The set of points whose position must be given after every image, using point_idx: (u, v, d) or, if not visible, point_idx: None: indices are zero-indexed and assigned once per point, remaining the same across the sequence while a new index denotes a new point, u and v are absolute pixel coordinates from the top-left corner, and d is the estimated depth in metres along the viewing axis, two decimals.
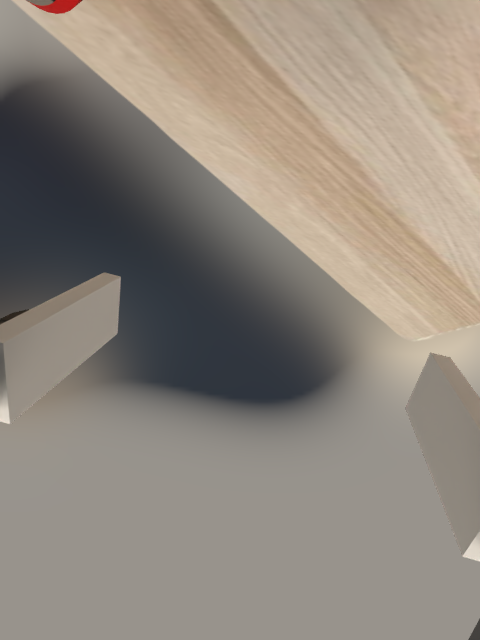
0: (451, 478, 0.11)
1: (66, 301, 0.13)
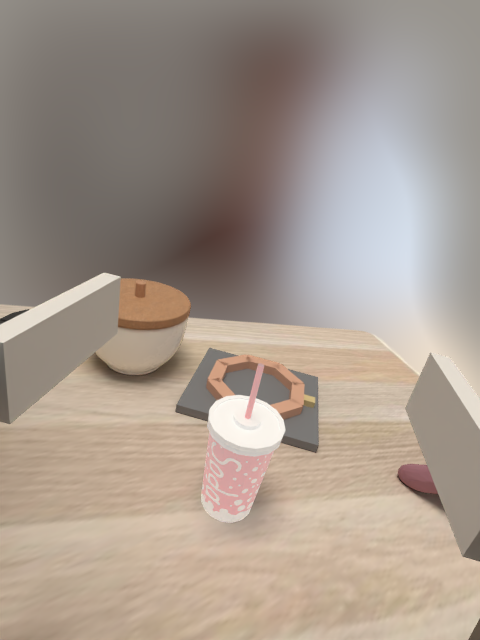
0: (450, 478, 0.11)
1: (66, 301, 0.13)
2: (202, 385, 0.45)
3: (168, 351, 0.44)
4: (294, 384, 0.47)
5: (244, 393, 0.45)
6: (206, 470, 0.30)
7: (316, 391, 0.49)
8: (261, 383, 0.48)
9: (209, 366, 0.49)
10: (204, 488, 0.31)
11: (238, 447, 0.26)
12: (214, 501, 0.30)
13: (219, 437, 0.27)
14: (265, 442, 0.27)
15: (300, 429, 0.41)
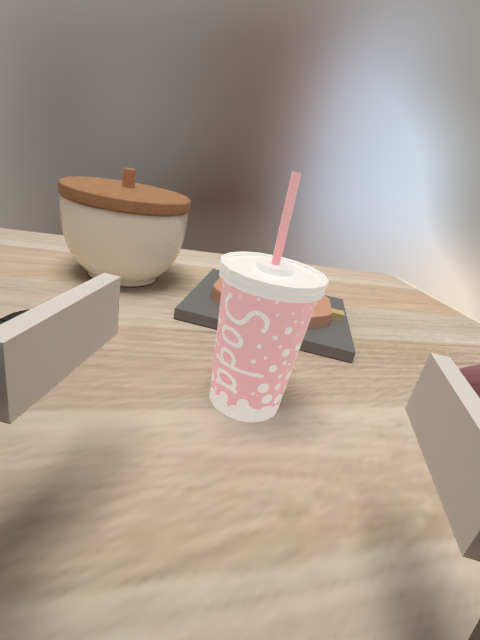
0: (450, 478, 0.11)
1: (66, 301, 0.13)
2: (206, 295, 0.37)
3: (164, 252, 0.36)
4: None
5: None
6: (218, 346, 0.22)
7: (343, 309, 0.41)
8: None
9: (214, 282, 0.41)
10: (214, 376, 0.22)
11: (266, 286, 0.18)
12: (230, 390, 0.21)
13: (238, 277, 0.19)
14: (303, 286, 0.19)
15: (330, 338, 0.33)
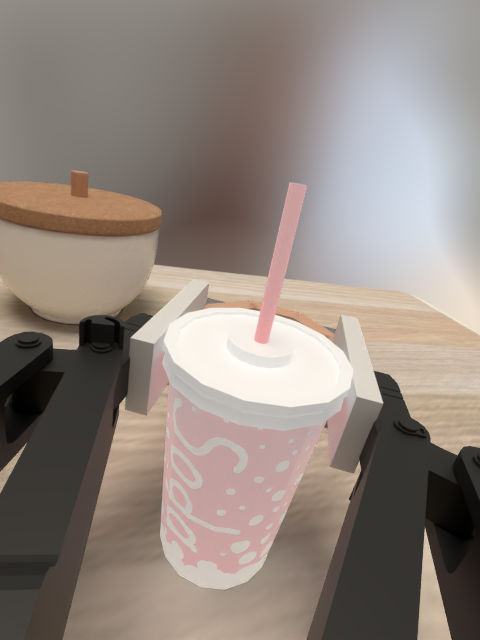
0: None
1: (179, 306, 0.14)
2: None
3: (124, 281, 0.28)
4: None
5: None
6: (166, 470, 0.13)
7: None
8: None
9: None
10: (164, 512, 0.14)
11: (240, 405, 0.09)
12: (186, 545, 0.13)
13: (187, 380, 0.10)
14: (310, 394, 0.10)
15: None
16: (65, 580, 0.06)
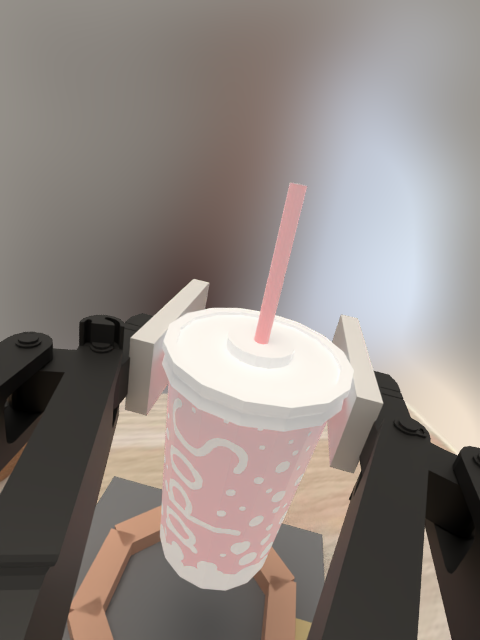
0: None
1: (179, 306, 0.14)
2: None
3: None
4: (273, 590, 0.22)
5: (158, 629, 0.20)
6: (166, 471, 0.13)
7: (321, 586, 0.24)
8: None
9: (98, 538, 0.24)
10: (164, 513, 0.14)
11: (240, 405, 0.09)
12: (185, 545, 0.13)
13: (187, 381, 0.10)
14: (310, 394, 0.10)
15: None
16: (65, 580, 0.06)
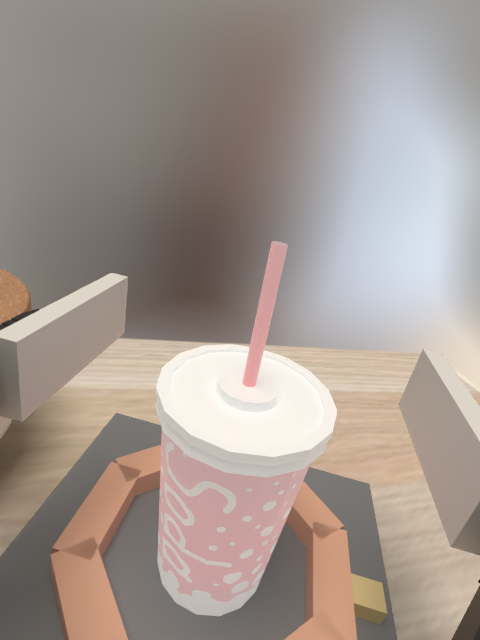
0: (440, 471, 0.11)
1: (76, 301, 0.13)
2: (42, 563, 0.15)
3: None
4: (318, 538, 0.17)
5: None
6: (161, 504, 0.14)
7: (375, 540, 0.19)
8: None
9: (95, 475, 0.19)
10: (160, 542, 0.14)
11: (226, 455, 0.10)
12: (180, 575, 0.14)
13: (177, 429, 0.11)
14: (293, 440, 0.11)
15: None
16: None
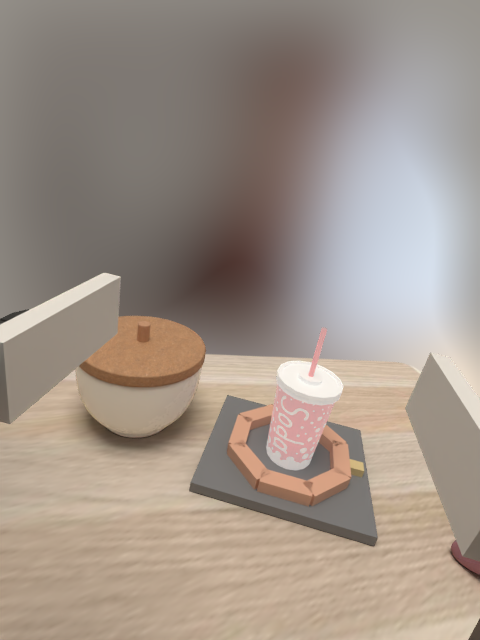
0: (450, 478, 0.11)
1: (66, 301, 0.13)
2: (222, 450, 0.36)
3: (179, 409, 0.36)
4: (335, 445, 0.38)
5: None
6: (274, 423, 0.35)
7: (361, 451, 0.40)
8: None
9: (229, 421, 0.40)
10: (271, 441, 0.36)
11: (308, 397, 0.31)
12: (282, 451, 0.35)
13: (290, 390, 0.32)
14: (329, 394, 0.32)
15: (350, 512, 0.32)
16: None
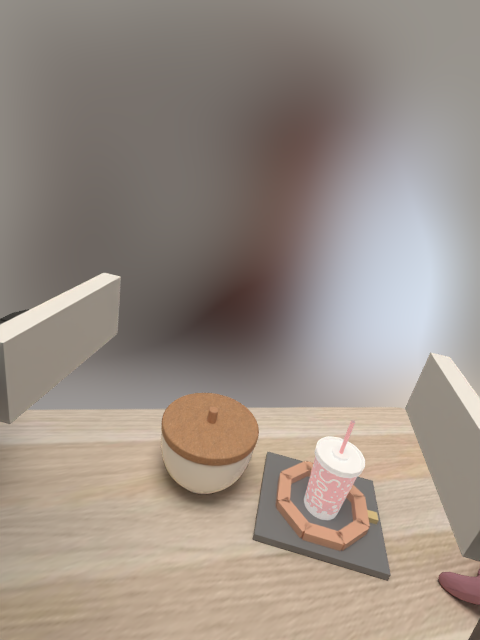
0: (450, 478, 0.11)
1: (66, 301, 0.13)
2: (271, 504, 0.48)
3: (240, 474, 0.47)
4: (355, 498, 0.50)
5: None
6: (313, 486, 0.47)
7: (375, 500, 0.52)
8: None
9: (272, 477, 0.52)
10: (309, 498, 0.48)
11: (341, 473, 0.43)
12: (318, 506, 0.47)
13: (328, 466, 0.44)
14: (355, 469, 0.44)
15: (370, 555, 0.44)
16: None
